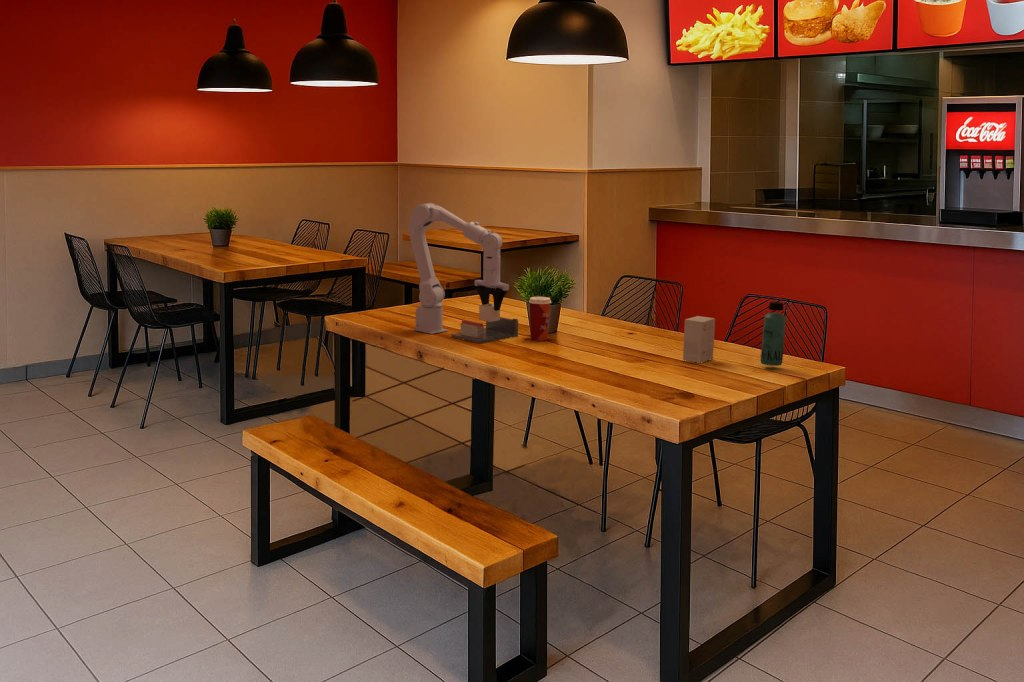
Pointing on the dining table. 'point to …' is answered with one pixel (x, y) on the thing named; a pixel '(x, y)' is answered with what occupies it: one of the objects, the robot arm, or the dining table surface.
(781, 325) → the beverage bottle
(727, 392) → the dining table surface
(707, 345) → the small box
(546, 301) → the paper cup
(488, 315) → the block
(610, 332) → the dining table surface
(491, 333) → the press
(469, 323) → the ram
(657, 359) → the dining table surface
